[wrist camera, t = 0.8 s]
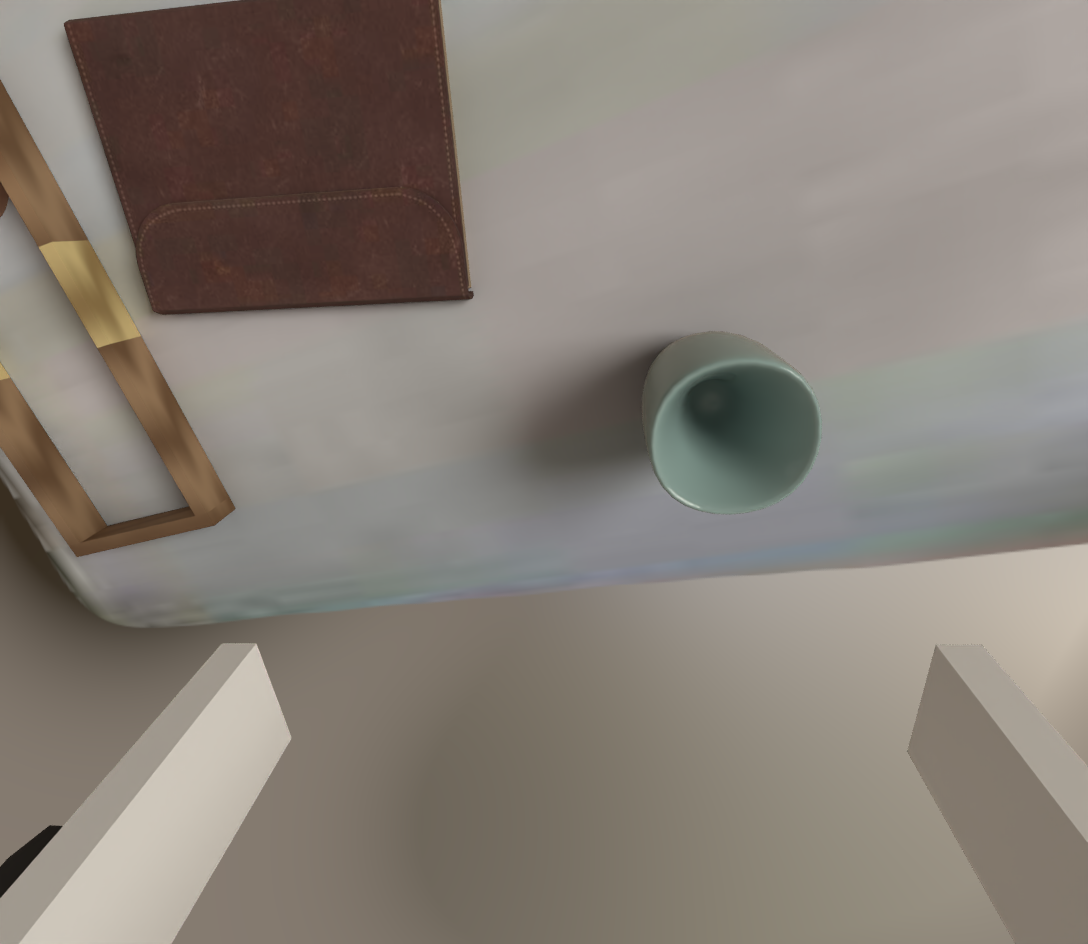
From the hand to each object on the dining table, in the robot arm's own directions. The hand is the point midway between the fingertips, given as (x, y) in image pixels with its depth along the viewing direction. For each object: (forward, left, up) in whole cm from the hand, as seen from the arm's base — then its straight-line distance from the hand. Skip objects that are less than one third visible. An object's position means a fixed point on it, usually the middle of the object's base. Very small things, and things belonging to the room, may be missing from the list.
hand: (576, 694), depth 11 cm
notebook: (-16, -14, -27) cm, 34 cm away
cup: (+2, +6, -26) cm, 27 cm away
